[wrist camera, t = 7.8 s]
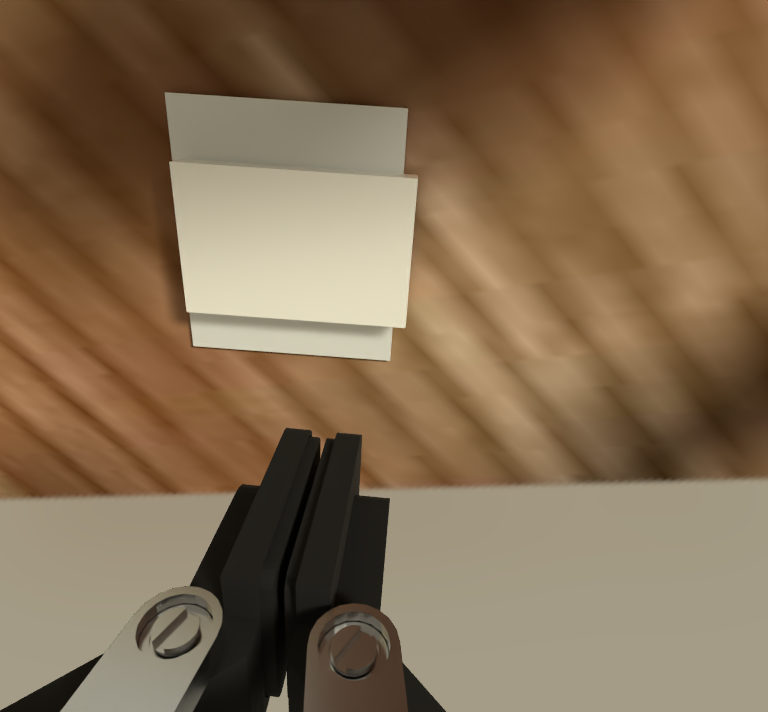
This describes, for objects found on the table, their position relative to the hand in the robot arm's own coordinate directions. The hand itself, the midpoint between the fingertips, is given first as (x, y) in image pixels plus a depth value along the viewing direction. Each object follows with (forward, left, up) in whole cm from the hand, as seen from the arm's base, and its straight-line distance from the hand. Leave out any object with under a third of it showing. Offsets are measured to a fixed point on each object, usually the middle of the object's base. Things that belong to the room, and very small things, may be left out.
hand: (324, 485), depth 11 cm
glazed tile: (-2, 0, -22) cm, 22 cm away
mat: (+6, 0, -24) cm, 24 cm away
